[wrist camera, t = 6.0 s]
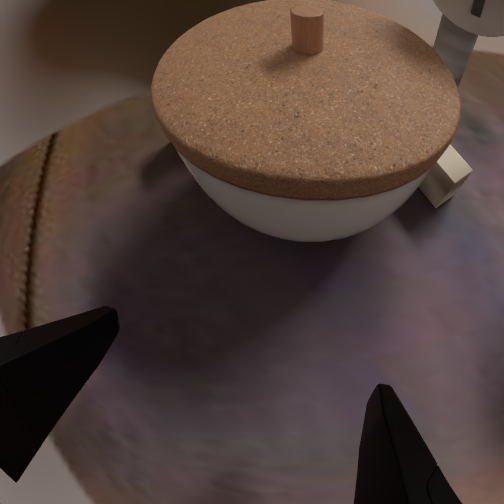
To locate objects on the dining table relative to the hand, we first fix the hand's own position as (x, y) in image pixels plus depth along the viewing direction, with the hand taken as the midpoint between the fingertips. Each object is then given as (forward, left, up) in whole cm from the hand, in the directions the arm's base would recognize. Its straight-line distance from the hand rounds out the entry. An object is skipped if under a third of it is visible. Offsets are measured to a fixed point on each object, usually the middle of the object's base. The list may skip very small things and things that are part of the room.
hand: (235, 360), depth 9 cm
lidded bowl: (+7, +9, -6) cm, 13 cm away
